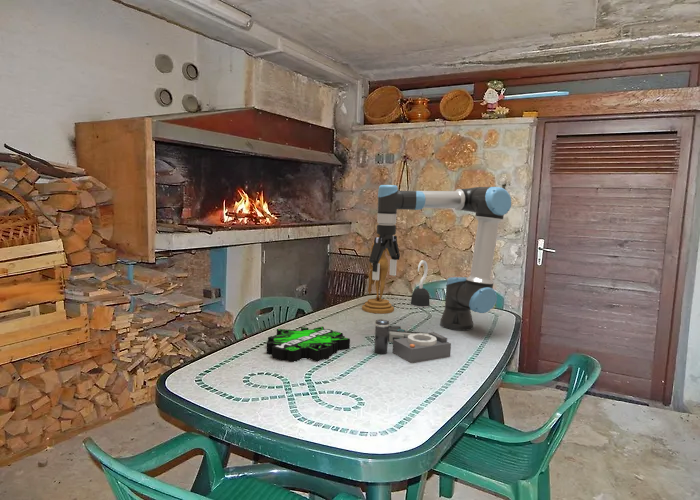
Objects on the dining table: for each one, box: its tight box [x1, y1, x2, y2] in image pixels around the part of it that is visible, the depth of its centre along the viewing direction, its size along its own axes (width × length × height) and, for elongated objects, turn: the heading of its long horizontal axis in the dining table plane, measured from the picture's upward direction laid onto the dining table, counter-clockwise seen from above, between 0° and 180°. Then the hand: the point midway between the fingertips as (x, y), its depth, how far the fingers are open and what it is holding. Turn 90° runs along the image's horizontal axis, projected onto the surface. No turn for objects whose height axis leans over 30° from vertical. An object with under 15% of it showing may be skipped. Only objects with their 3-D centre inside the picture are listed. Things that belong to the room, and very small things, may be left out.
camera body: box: [392, 331, 452, 364], centre depth 177 cm, size 18×12×7 cm, turn 118°
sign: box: [265, 326, 351, 363], centre depth 180 cm, size 33×4×30 cm
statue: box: [361, 234, 395, 315], centre depth 242 cm, size 17×17×41 cm
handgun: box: [388, 325, 430, 343], centre depth 196 cm, size 4×22×15 cm
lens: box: [373, 319, 390, 355], centre depth 178 cm, size 5×5×12 cm
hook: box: [410, 259, 430, 308], centre depth 257 cm, size 11×11×25 cm
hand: (384, 277), depth 187 cm, fingers open, 13 cm apart
